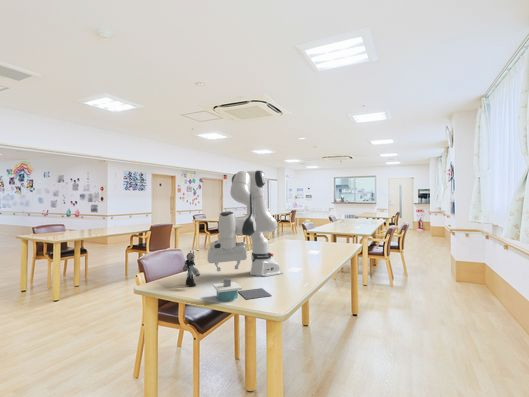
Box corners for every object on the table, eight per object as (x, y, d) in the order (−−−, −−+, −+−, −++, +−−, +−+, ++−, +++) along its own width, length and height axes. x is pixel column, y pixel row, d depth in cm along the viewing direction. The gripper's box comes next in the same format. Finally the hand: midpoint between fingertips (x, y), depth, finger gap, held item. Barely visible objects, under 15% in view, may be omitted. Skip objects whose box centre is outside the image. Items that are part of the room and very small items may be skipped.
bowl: (233, 293, 163) (233, 284, 163) (239, 299, 154) (239, 289, 154) (215, 295, 159) (215, 286, 159) (219, 301, 150) (219, 291, 150)
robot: (180, 282, 185) (179, 249, 185) (187, 281, 188) (187, 248, 188) (194, 289, 170) (194, 254, 170) (202, 288, 173) (201, 253, 173)
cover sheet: (235, 283, 164) (234, 275, 164) (241, 289, 153) (241, 280, 153) (213, 286, 160) (213, 277, 160) (218, 292, 149) (218, 283, 149)
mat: (261, 288, 171) (261, 288, 171) (271, 296, 158) (271, 295, 158) (238, 291, 166) (238, 291, 166) (246, 299, 153) (246, 298, 153)
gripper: (244, 241, 163) (244, 266, 164) (206, 243, 156) (207, 270, 156) (248, 242, 158) (248, 269, 158) (209, 245, 150) (209, 273, 150)
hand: (227, 270), depth 157 cm, fingers open, 8 cm apart
